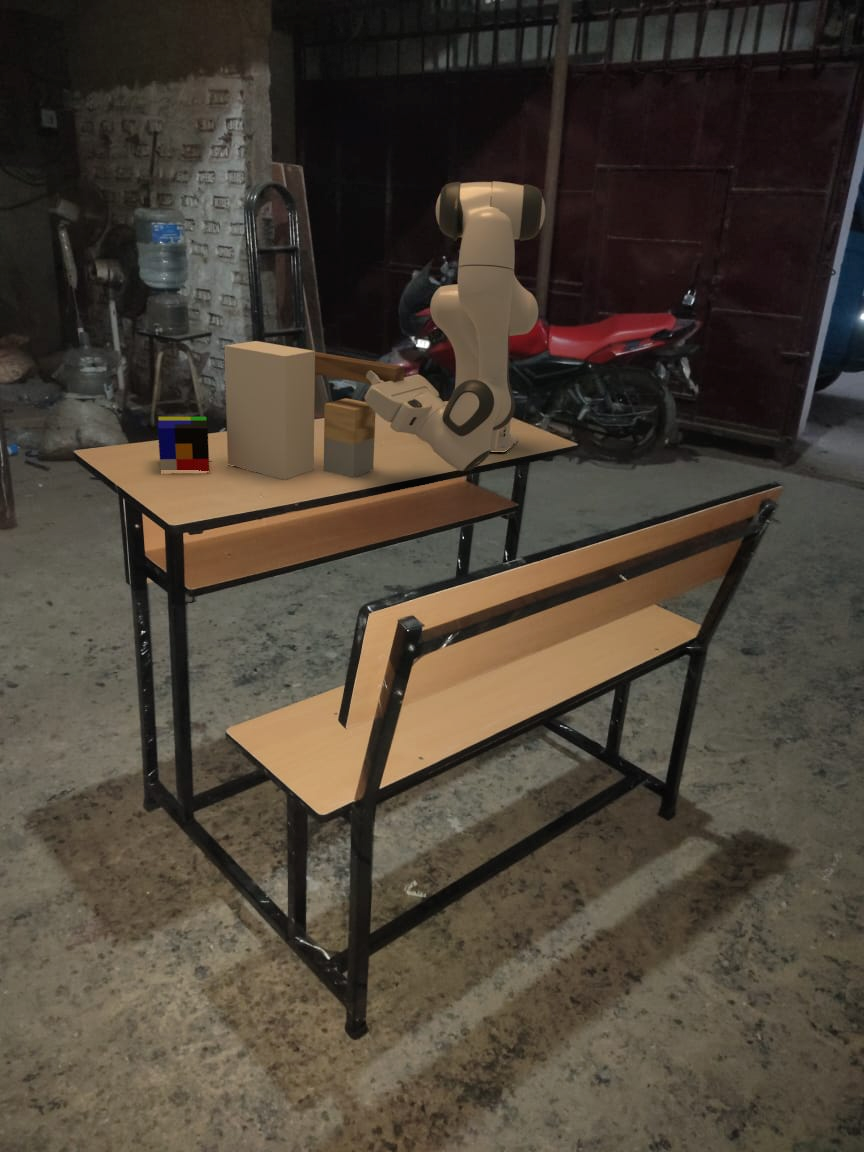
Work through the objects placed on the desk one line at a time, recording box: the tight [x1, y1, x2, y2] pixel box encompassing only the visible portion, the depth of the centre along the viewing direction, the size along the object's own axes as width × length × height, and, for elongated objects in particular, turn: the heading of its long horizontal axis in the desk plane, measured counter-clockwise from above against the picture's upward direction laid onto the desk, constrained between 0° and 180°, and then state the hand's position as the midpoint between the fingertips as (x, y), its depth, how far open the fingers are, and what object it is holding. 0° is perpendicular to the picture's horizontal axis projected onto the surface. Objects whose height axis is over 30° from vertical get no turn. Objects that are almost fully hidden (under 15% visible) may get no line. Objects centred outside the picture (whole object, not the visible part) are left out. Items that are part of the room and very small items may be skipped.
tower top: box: [323, 398, 377, 444], centre depth 188 cm, size 8×8×8 cm
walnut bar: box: [315, 351, 406, 385], centre depth 184 cm, size 4×24×4 cm, turn 61°
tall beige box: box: [224, 340, 316, 481], centre depth 185 cm, size 10×16×26 cm, turn 61°
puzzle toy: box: [157, 416, 210, 472], centre depth 185 cm, size 10×10×10 cm
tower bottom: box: [323, 437, 375, 479], centre depth 191 cm, size 8×8×8 cm
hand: (375, 371), depth 181 cm, fingers closed on walnut bar, 4 cm apart
